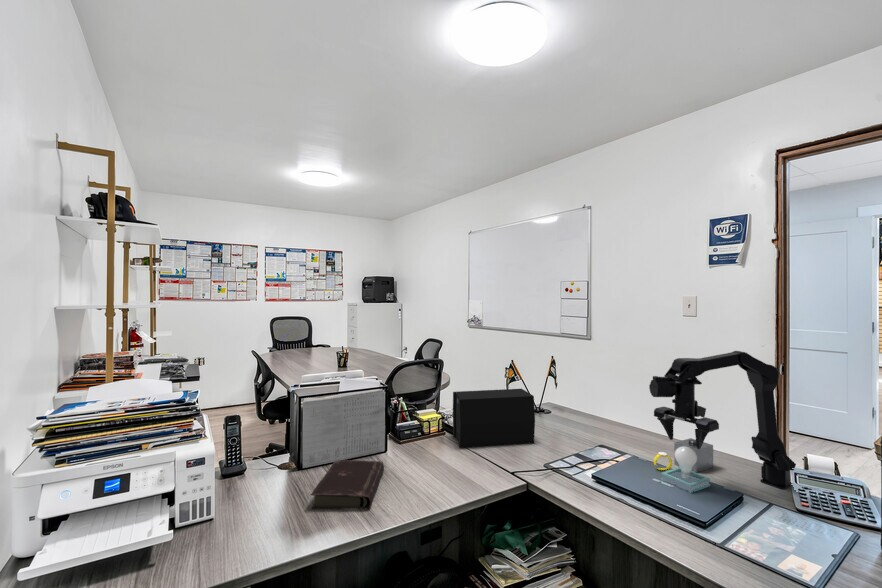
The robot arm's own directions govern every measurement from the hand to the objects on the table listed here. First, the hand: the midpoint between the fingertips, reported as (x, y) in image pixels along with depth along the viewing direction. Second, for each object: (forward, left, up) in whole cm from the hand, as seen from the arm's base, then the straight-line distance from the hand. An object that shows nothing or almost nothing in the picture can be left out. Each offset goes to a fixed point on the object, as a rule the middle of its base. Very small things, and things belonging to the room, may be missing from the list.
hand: (684, 444), depth 134 cm
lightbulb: (0, 0, -12) cm, 12 cm away
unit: (+7, -16, -13) cm, 22 cm away
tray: (0, 0, -13) cm, 13 cm away
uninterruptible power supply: (+63, +33, -13) cm, 72 cm away
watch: (+10, -3, -13) cm, 17 cm away
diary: (+47, +100, -14) cm, 112 cm away
